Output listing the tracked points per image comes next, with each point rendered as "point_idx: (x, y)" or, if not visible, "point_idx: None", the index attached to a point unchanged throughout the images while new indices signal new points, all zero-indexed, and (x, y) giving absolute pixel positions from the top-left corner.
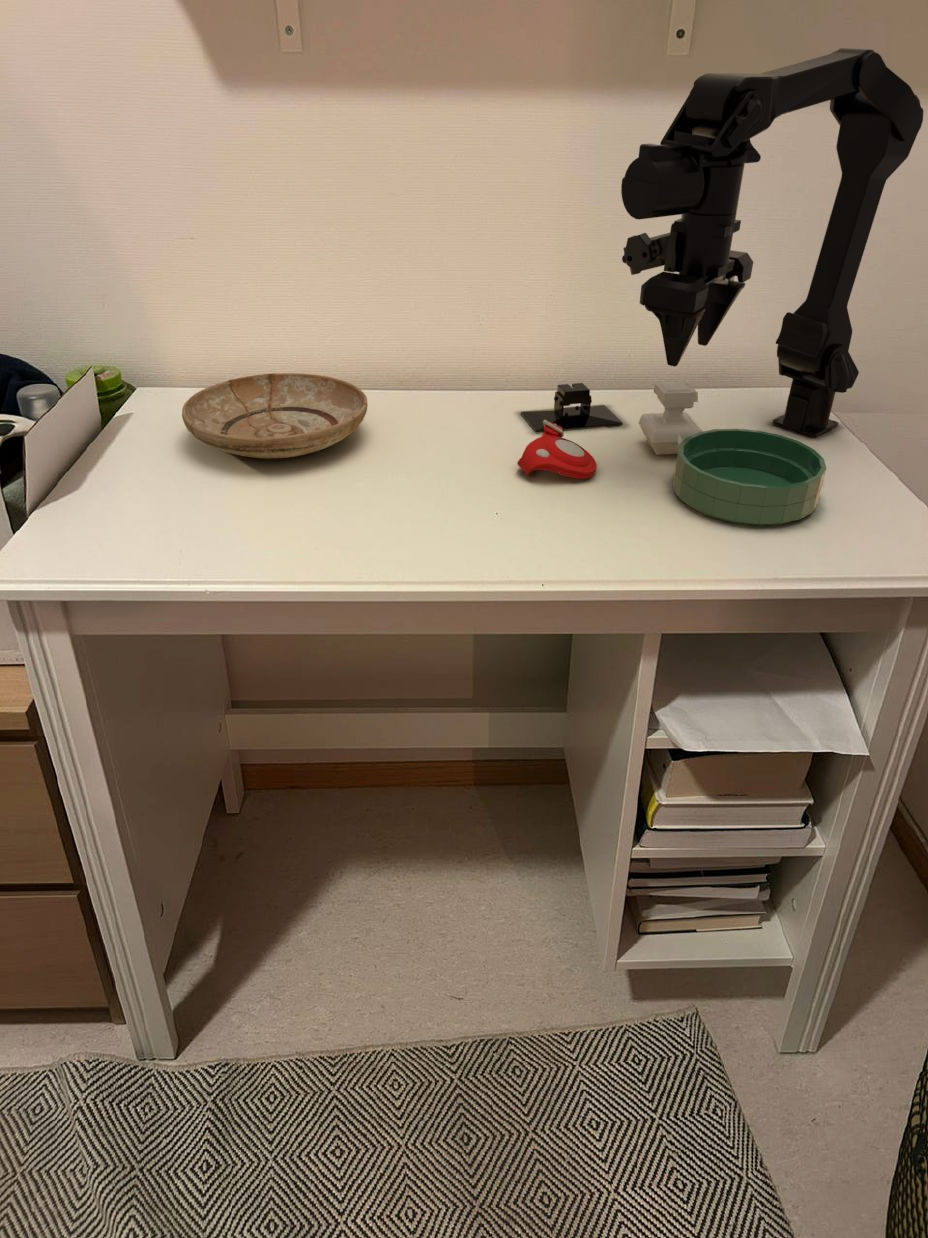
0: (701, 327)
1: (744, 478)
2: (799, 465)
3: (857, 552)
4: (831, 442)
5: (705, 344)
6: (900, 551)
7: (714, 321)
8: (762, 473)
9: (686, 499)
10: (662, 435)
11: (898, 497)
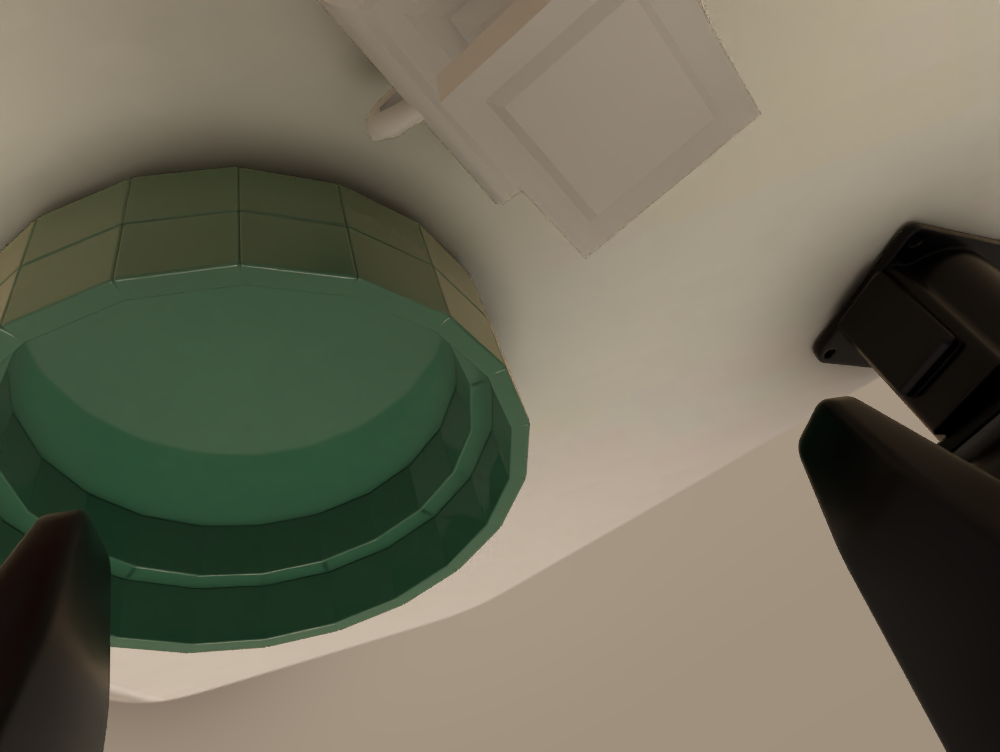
0: (919, 523)
1: (357, 359)
2: (439, 501)
3: None
4: (792, 390)
5: (799, 451)
6: (243, 661)
7: (921, 657)
8: (435, 379)
9: None
10: (354, 40)
11: (511, 576)
